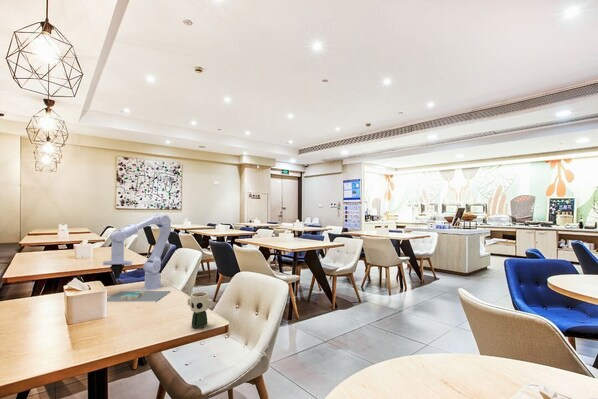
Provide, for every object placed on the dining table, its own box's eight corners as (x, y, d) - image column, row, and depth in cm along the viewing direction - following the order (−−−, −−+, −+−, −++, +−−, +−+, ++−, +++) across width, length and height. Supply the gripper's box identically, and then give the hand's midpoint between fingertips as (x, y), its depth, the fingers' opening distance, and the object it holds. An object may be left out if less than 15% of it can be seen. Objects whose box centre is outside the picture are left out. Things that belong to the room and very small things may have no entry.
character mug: (182, 328, 119) (182, 295, 119) (192, 321, 126) (192, 290, 126) (207, 330, 116) (207, 297, 117) (215, 323, 123) (216, 292, 124)
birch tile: (130, 291, 161) (144, 291, 162) (130, 294, 161) (144, 294, 161) (120, 296, 152) (135, 296, 153) (120, 299, 152) (135, 299, 152)
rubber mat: (120, 292, 168) (120, 291, 168) (170, 291, 168) (170, 291, 168) (100, 302, 150) (100, 301, 150) (156, 302, 150) (156, 301, 150)
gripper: (99, 254, 157) (98, 280, 157) (127, 254, 157) (126, 280, 157) (107, 252, 164) (107, 277, 164) (134, 252, 164) (133, 277, 164)
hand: (117, 278), depth 161 cm, fingers closed
